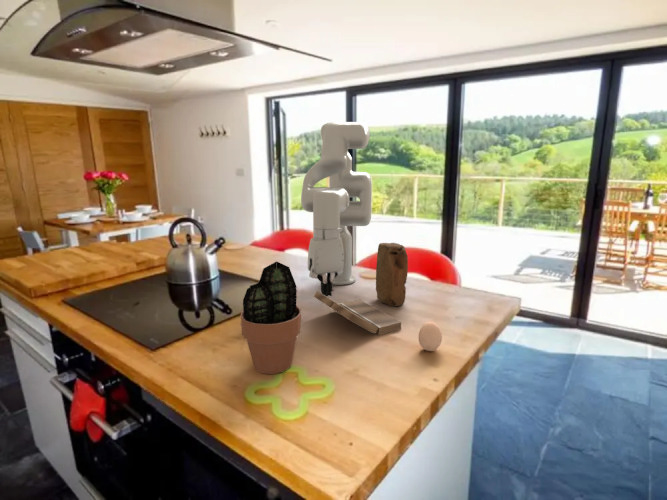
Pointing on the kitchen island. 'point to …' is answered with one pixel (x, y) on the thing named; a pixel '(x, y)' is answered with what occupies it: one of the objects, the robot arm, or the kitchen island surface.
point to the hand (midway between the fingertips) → (326, 294)
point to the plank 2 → (354, 318)
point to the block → (391, 273)
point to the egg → (430, 336)
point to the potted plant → (271, 319)
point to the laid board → (373, 316)
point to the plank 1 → (325, 299)
